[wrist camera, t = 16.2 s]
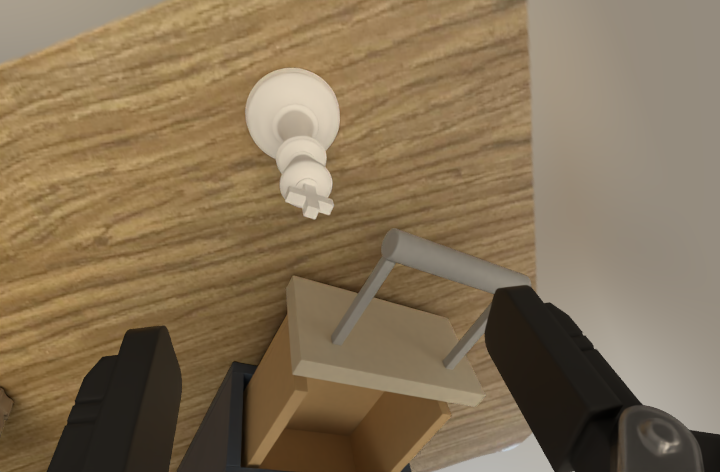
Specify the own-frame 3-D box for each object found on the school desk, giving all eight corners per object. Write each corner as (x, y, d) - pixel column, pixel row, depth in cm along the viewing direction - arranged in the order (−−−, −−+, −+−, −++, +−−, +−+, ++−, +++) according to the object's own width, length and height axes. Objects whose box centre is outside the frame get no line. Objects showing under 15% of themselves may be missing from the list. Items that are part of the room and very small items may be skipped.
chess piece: (318, 170, 25) (347, 281, 17) (233, 141, 23) (219, 250, 15) (354, 90, 23) (406, 173, 15) (263, 51, 21) (265, 122, 13)
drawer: (347, 172, 24) (373, 241, 19) (511, 237, 29) (569, 307, 24) (218, 412, 34) (210, 506, 28) (358, 431, 39) (375, 513, 33)
